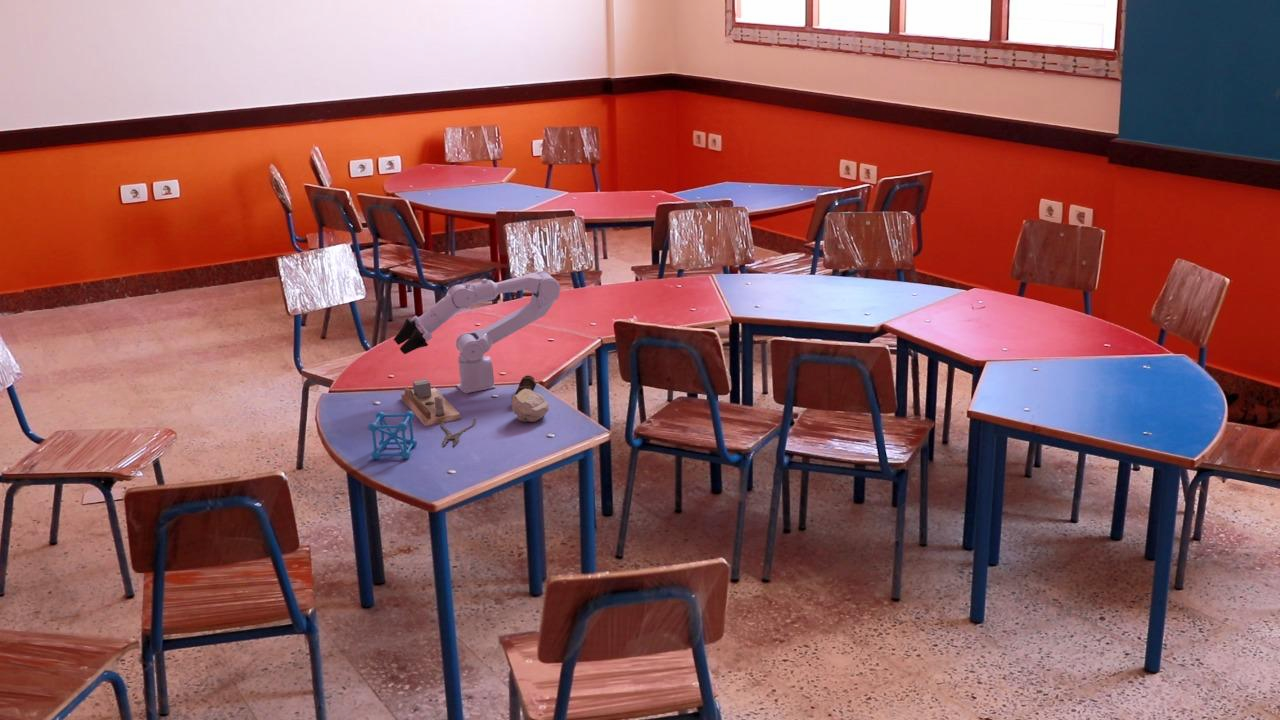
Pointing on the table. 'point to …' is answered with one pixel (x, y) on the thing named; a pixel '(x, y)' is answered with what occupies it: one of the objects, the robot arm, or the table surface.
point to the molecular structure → (392, 435)
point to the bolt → (526, 384)
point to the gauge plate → (430, 407)
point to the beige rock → (529, 405)
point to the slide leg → (422, 388)
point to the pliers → (454, 436)
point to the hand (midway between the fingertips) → (398, 346)
